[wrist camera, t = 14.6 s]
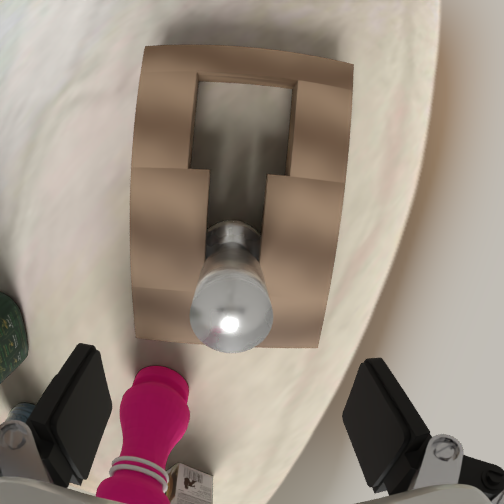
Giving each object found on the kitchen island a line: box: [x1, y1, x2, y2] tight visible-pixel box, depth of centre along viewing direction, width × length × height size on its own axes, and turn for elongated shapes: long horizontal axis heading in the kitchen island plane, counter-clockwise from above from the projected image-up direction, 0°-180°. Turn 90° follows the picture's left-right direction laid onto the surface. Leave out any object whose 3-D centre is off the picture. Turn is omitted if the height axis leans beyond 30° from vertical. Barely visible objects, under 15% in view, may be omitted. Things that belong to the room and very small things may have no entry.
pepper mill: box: [96, 366, 190, 504], centre depth 22 cm, size 7×7×20 cm
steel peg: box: [190, 220, 273, 353], centre depth 22 cm, size 6×6×12 cm
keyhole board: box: [130, 45, 354, 348], centre depth 24 cm, size 24×16×4 cm, turn 175°
